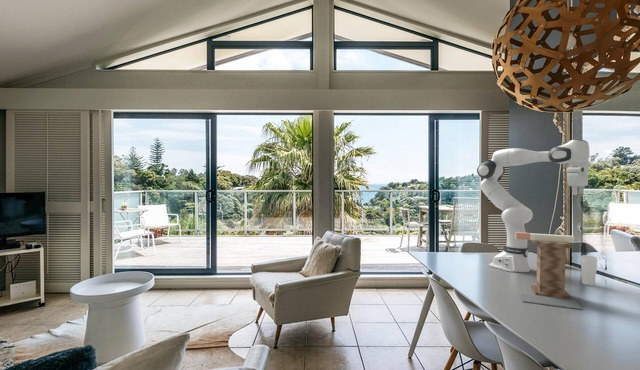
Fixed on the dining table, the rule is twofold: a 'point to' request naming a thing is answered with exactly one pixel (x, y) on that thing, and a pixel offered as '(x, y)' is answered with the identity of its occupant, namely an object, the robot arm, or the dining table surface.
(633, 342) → the dining table surface
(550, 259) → the walnut stand
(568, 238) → the white stick tan end
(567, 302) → the mat
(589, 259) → the drinking glass
